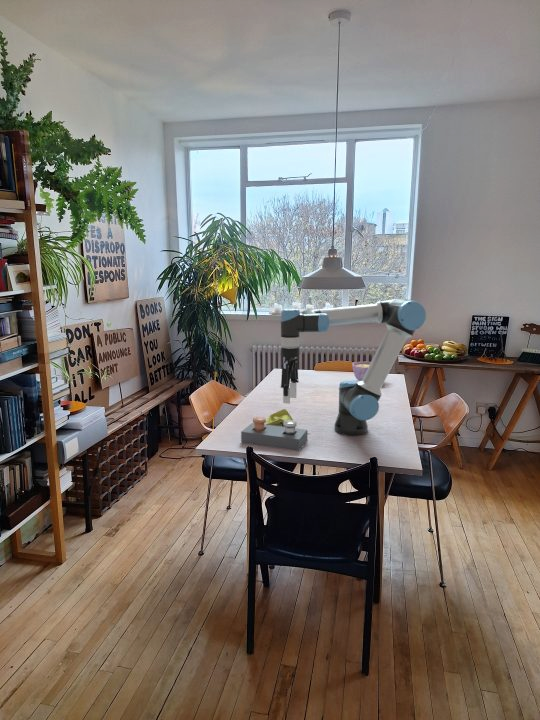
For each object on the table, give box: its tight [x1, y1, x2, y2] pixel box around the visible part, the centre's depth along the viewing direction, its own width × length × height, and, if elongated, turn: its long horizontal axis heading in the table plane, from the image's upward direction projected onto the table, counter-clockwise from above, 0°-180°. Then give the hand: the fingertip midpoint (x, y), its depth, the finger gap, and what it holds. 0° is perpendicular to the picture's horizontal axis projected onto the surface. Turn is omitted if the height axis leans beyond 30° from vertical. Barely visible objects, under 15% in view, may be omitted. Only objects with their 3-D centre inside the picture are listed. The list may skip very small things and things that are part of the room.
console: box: [240, 422, 308, 452], centre depth 200 cm, size 26×12×5 cm, turn 69°
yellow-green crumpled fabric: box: [264, 408, 294, 427], centre depth 218 cm, size 20×7×10 cm
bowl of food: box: [351, 361, 371, 381], centre depth 301 cm, size 20×20×12 cm
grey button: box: [282, 420, 297, 435], centre depth 197 cm, size 6×6×6 cm
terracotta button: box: [252, 416, 267, 431], centre depth 201 cm, size 6×6×6 cm
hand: (289, 400), depth 194 cm, fingers open, 8 cm apart
